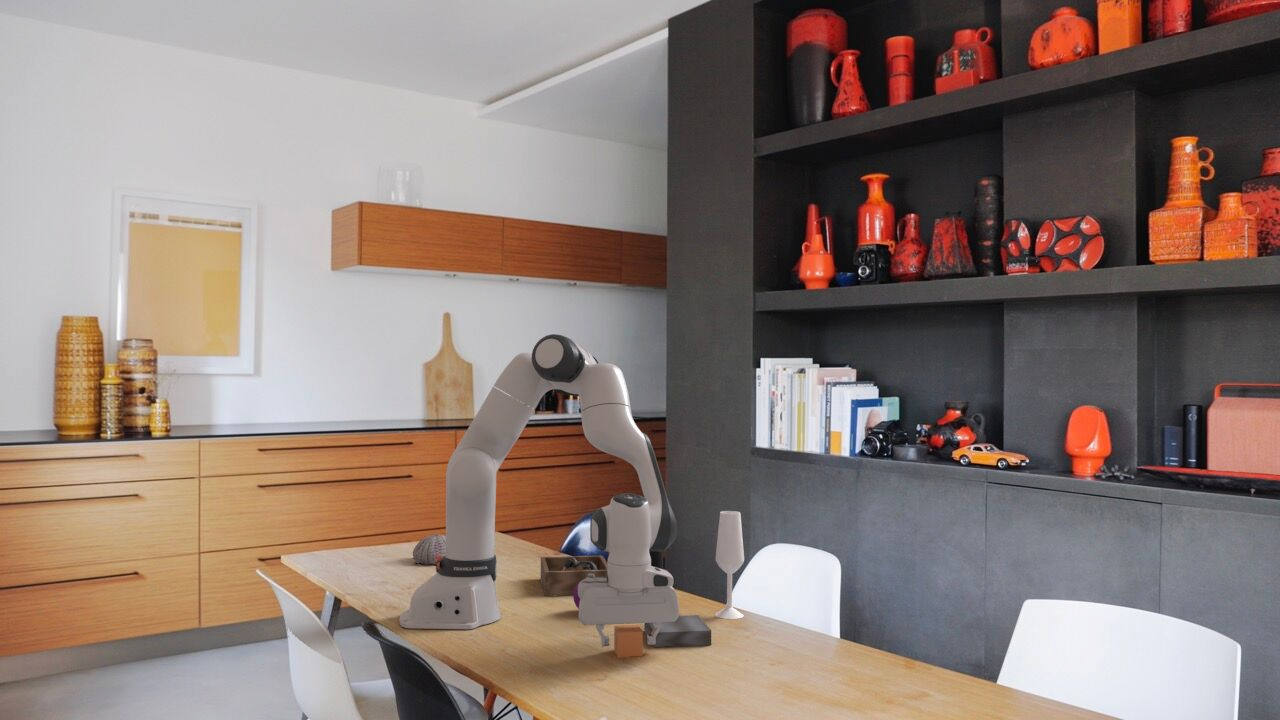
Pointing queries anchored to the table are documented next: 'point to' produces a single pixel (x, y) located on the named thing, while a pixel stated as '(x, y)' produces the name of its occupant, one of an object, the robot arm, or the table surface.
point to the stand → (682, 632)
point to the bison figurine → (577, 565)
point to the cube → (628, 640)
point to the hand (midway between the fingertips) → (628, 644)
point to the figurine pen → (567, 574)
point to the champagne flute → (729, 555)
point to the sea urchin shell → (430, 549)
